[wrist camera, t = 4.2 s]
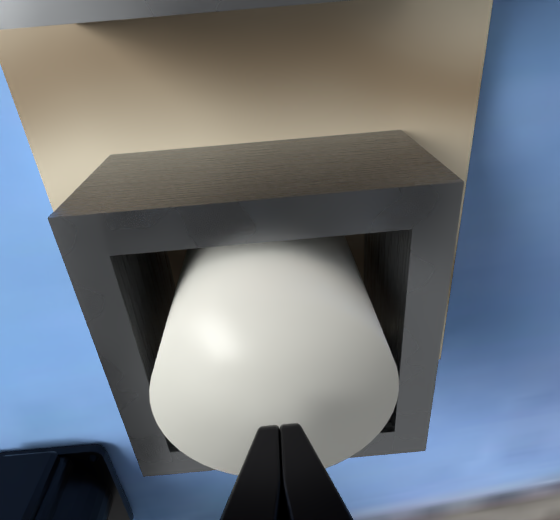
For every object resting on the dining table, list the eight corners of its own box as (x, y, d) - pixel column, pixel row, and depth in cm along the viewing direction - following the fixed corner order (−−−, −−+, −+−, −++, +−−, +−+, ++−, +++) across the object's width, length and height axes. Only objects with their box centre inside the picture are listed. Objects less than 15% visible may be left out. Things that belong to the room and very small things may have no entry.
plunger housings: (386, 350, 17) (425, 450, 13) (168, 370, 17) (143, 476, 13) (450, -637, 7) (700, -1457, 3) (-94, -597, 7) (-545, -1384, 3)
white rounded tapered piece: (351, 331, 16) (392, 467, 11) (199, 345, 16) (175, 487, 11) (352, 187, 13) (408, 287, 9) (168, 203, 13) (120, 312, 8)
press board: (427, 335, 19) (440, 359, 18) (126, 362, 19) (117, 388, 18) (543, -612, 8) (600, -734, 7) (-179, -559, 8) (-264, -671, 7)
